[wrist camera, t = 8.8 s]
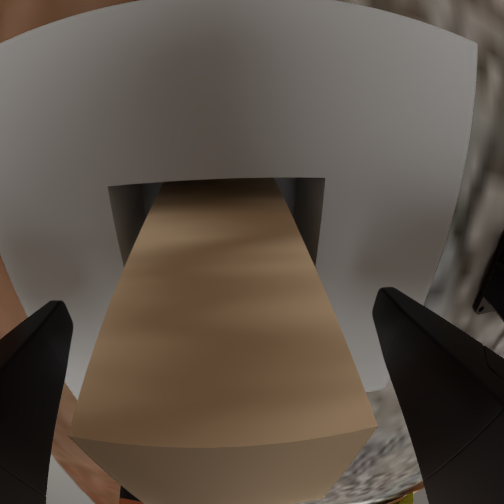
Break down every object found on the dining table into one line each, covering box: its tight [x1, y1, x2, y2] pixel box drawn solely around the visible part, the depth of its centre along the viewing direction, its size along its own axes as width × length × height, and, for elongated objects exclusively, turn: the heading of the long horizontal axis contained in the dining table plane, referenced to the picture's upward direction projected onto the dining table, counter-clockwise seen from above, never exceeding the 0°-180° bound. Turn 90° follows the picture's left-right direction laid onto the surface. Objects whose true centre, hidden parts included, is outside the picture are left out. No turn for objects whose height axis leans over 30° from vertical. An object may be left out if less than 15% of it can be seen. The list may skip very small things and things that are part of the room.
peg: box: [69, 178, 378, 504], centre depth 9 cm, size 4×4×10 cm
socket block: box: [0, 0, 478, 400], centre depth 12 cm, size 16×16×4 cm
